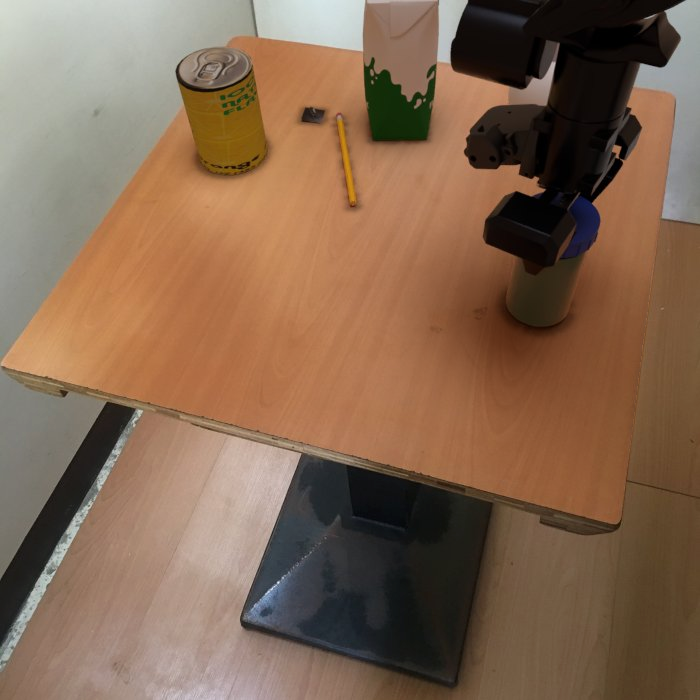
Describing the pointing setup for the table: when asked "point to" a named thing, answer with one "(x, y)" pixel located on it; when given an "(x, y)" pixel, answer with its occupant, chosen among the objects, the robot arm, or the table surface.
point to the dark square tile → (313, 115)
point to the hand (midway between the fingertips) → (546, 250)
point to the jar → (543, 291)
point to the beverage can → (223, 109)
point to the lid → (582, 226)
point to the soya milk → (400, 66)
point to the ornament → (534, 89)
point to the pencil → (346, 160)
